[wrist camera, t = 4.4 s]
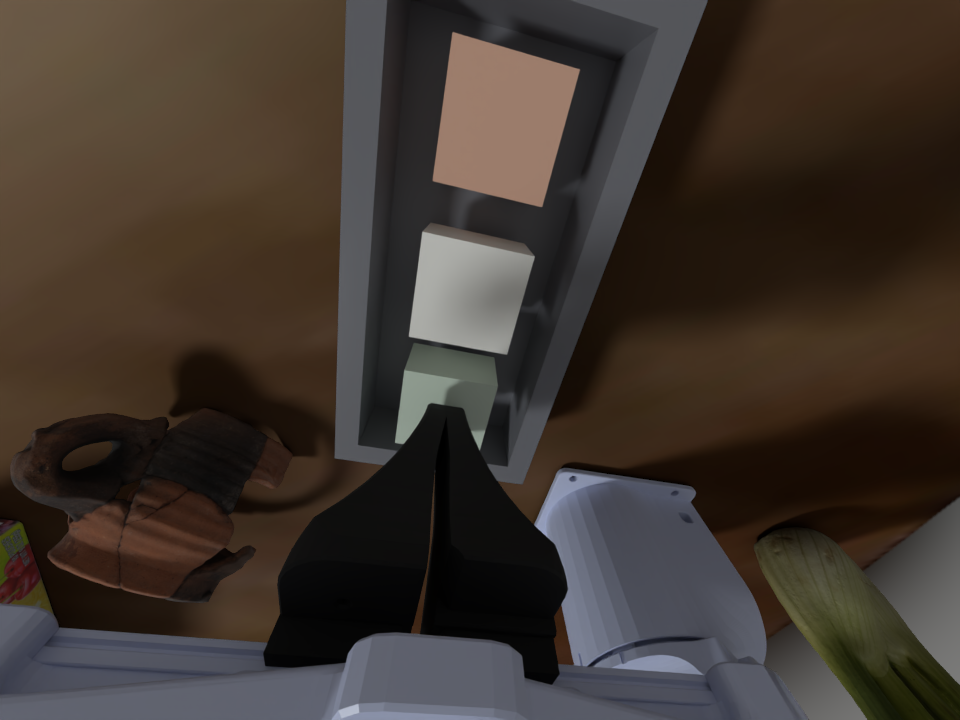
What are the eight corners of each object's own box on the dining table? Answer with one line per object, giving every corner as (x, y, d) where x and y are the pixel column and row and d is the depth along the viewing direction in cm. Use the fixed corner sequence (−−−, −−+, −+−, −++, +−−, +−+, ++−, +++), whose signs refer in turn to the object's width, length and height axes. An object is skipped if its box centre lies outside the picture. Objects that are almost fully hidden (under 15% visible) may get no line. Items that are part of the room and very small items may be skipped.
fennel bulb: (728, 547, 26) (901, 796, 16) (778, 506, 24) (1014, 762, 14) (784, 563, 28) (979, 805, 17) (835, 526, 25) (1094, 775, 15)
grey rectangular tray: (642, 42, 12) (712, -12, 9) (513, 431, 20) (522, 484, 17) (388, -37, 11) (349, -135, 8) (359, 406, 19) (334, 458, 16)
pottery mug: (338, 473, 23) (255, 625, 18) (261, 459, 27) (179, 576, 23) (148, 353, 15) (-89, 566, 10) (86, 363, 20) (-94, 511, 15)
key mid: (524, 243, 13) (534, 256, 11) (501, 329, 15) (506, 354, 13) (430, 222, 13) (422, 231, 11) (418, 312, 14) (408, 336, 12)
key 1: (494, 357, 15) (497, 386, 13) (477, 420, 17) (478, 455, 15) (413, 342, 15) (404, 370, 13) (404, 408, 17) (394, 443, 14)
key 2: (560, 88, 12) (580, 69, 10) (530, 202, 13) (542, 207, 11) (456, 58, 11) (452, 32, 9) (438, 180, 13) (432, 181, 11)
